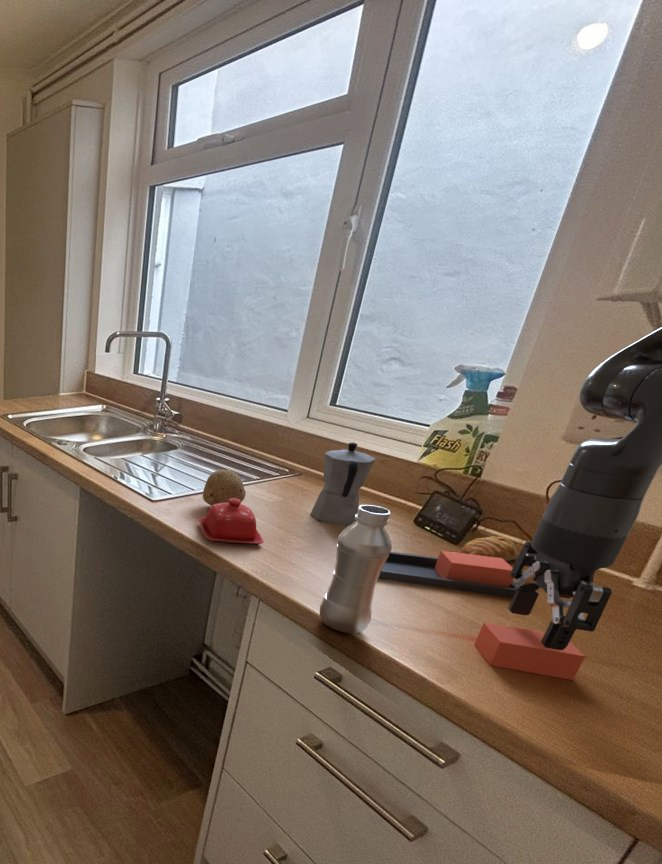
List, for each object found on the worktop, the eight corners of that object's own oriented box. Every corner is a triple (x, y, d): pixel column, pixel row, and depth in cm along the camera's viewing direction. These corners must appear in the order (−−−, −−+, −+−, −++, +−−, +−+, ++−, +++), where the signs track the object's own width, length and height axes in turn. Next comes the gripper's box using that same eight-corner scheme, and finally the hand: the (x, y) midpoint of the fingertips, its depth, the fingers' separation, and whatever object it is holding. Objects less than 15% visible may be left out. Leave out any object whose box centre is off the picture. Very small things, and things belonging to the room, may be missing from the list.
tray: (492, 575, 97) (496, 565, 96) (519, 602, 89) (524, 591, 88) (356, 556, 104) (358, 547, 103) (369, 580, 96) (372, 569, 95)
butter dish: (265, 549, 107) (273, 510, 104) (205, 545, 109) (212, 507, 106) (249, 526, 118) (256, 490, 115) (195, 522, 120) (201, 487, 117)
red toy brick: (551, 658, 75) (563, 634, 74) (573, 680, 71) (585, 656, 69) (473, 644, 78) (483, 622, 77) (489, 665, 74) (500, 641, 72)
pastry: (486, 569, 99) (493, 551, 97) (447, 554, 105) (453, 536, 103) (519, 561, 102) (526, 543, 100) (479, 546, 108) (485, 530, 106)
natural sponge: (249, 510, 126) (256, 471, 122) (229, 520, 121) (236, 479, 117) (214, 499, 133) (220, 462, 129) (193, 508, 128) (199, 469, 124)
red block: (494, 577, 95) (502, 558, 93) (508, 591, 91) (517, 571, 89) (433, 569, 98) (440, 550, 96) (444, 582, 94) (452, 562, 92)
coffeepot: (308, 505, 129) (326, 433, 122) (354, 511, 125) (374, 438, 118) (311, 528, 116) (331, 450, 109) (362, 536, 112) (386, 456, 105)
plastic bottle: (371, 642, 79) (411, 521, 71) (320, 633, 81) (353, 514, 73) (360, 619, 84) (395, 504, 77) (312, 611, 87) (342, 498, 79)
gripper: (668, 551, 59) (603, 667, 65) (587, 506, 71) (539, 607, 78) (581, 541, 61) (526, 654, 68) (518, 499, 74) (476, 598, 80)
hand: (533, 629), depth 73 cm, fingers open, 8 cm apart
